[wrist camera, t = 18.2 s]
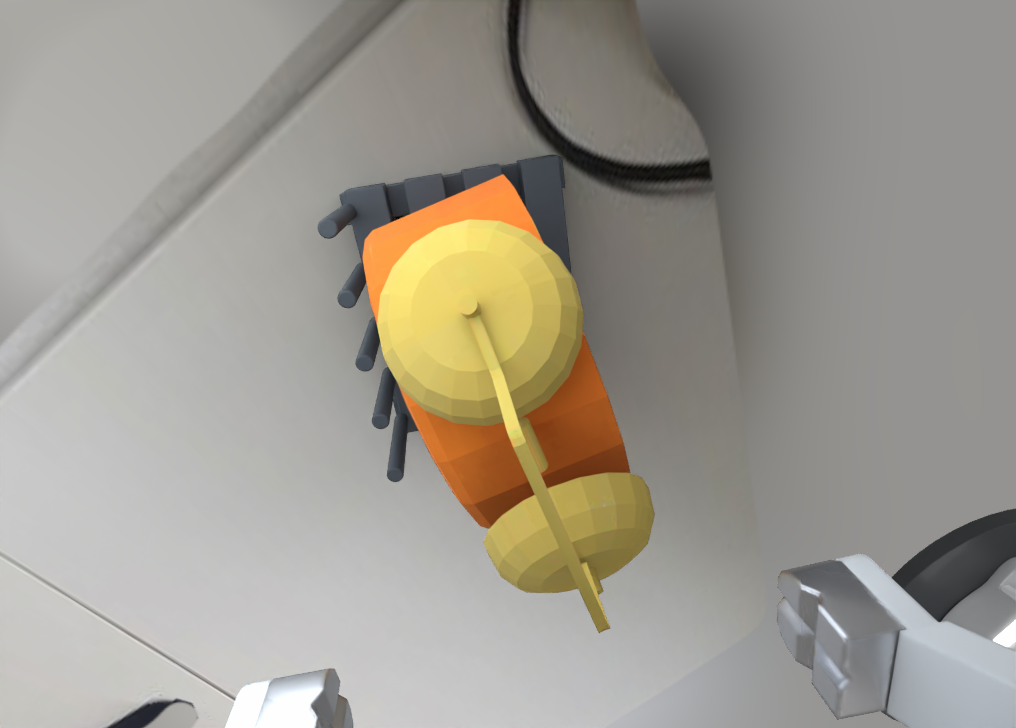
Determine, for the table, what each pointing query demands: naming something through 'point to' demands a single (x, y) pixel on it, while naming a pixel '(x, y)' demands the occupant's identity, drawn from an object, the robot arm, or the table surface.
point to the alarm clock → (508, 389)
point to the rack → (383, 202)
